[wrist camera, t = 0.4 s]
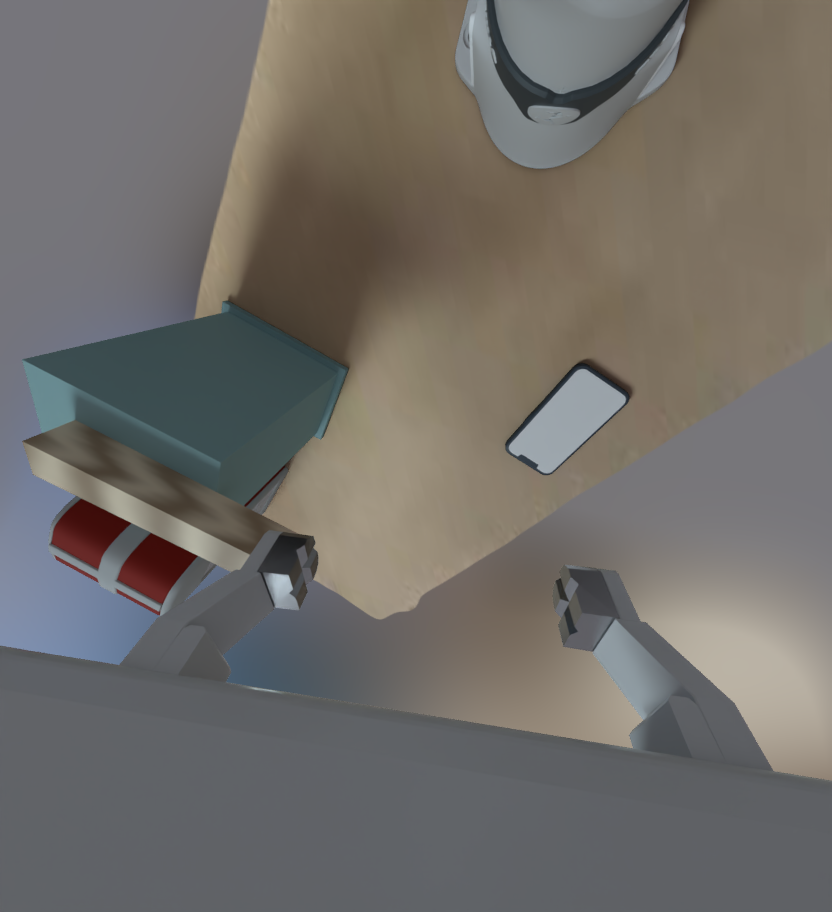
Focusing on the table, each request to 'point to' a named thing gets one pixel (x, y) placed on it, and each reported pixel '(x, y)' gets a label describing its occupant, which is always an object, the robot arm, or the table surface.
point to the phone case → (566, 419)
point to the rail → (147, 494)
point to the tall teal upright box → (196, 396)
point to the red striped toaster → (134, 552)
